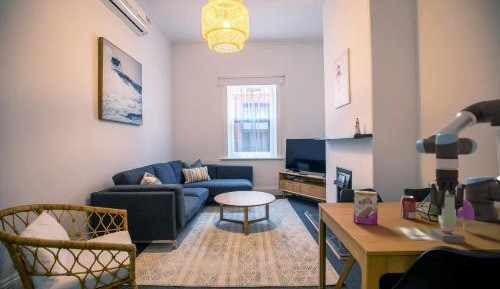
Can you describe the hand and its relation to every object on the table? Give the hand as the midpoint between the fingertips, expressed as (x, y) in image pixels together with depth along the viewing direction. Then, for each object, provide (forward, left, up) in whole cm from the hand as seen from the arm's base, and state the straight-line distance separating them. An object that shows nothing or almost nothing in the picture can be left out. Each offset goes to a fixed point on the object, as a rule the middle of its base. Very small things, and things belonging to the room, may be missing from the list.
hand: (446, 222), depth 99 cm
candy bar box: (+28, -17, -7) cm, 33 cm away
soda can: (+1, -30, -7) cm, 31 cm away
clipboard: (+7, -4, -7) cm, 10 cm away
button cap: (0, 0, -6) cm, 6 cm away
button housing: (0, 0, -7) cm, 7 cm away
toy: (-14, -11, -7) cm, 20 cm away
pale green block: (0, 0, -2) cm, 2 cm away
